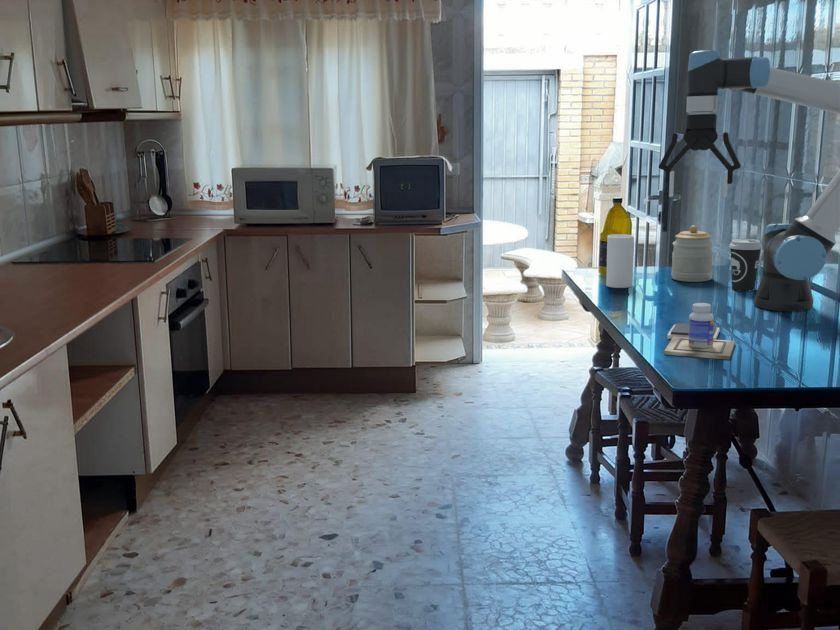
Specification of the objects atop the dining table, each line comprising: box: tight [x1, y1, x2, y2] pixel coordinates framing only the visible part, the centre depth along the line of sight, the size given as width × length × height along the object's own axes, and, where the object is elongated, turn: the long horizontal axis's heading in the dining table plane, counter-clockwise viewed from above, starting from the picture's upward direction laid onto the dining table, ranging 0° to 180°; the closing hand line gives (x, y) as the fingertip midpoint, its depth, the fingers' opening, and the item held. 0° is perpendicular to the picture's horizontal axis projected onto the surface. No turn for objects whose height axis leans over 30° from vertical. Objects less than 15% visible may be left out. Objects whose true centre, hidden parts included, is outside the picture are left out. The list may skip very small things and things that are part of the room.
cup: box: [605, 233, 635, 289], centre depth 273 cm, size 8×8×16 cm
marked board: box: [663, 337, 736, 360], centre depth 198 cm, size 14×14×1 cm
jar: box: [671, 225, 715, 283], centre depth 281 cm, size 13×13×18 cm
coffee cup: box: [728, 238, 763, 292], centre depth 262 cm, size 10×10×15 cm
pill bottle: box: [688, 302, 715, 348], centre depth 196 cm, size 5×5×10 cm
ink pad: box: [666, 322, 721, 340], centre depth 210 cm, size 11×11×2 cm
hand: (697, 196), depth 225 cm, fingers open, 13 cm apart
